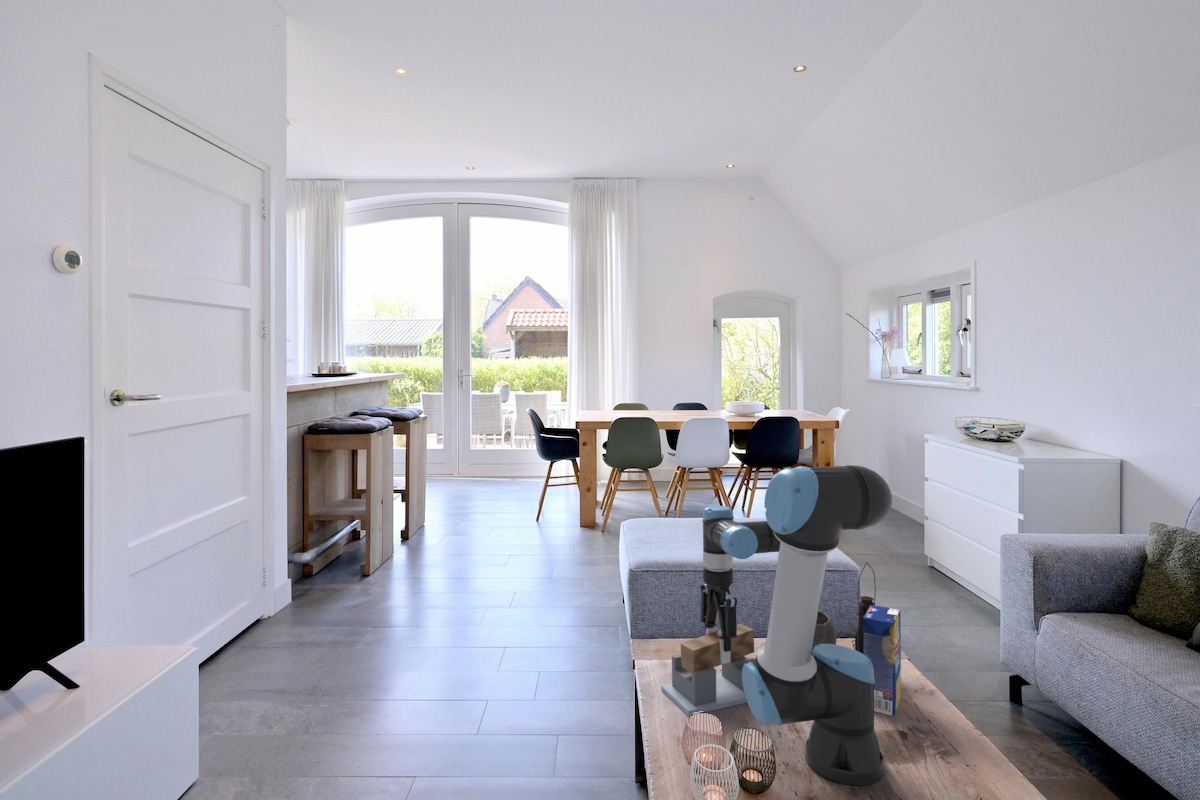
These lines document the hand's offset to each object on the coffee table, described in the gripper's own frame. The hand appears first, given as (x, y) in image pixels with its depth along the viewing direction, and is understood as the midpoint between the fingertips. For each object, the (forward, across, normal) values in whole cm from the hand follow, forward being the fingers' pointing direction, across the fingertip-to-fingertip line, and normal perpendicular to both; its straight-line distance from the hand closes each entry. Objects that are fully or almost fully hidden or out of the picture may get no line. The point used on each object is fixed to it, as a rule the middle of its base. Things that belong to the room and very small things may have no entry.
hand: (718, 657), depth 161 cm
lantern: (+9, -6, -43) cm, 44 cm away
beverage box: (+9, -20, -34) cm, 41 cm away
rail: (+1, 0, 0) cm, 1 cm away
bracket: (+9, 0, 0) cm, 9 cm away
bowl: (+9, +8, -33) cm, 35 cm away
